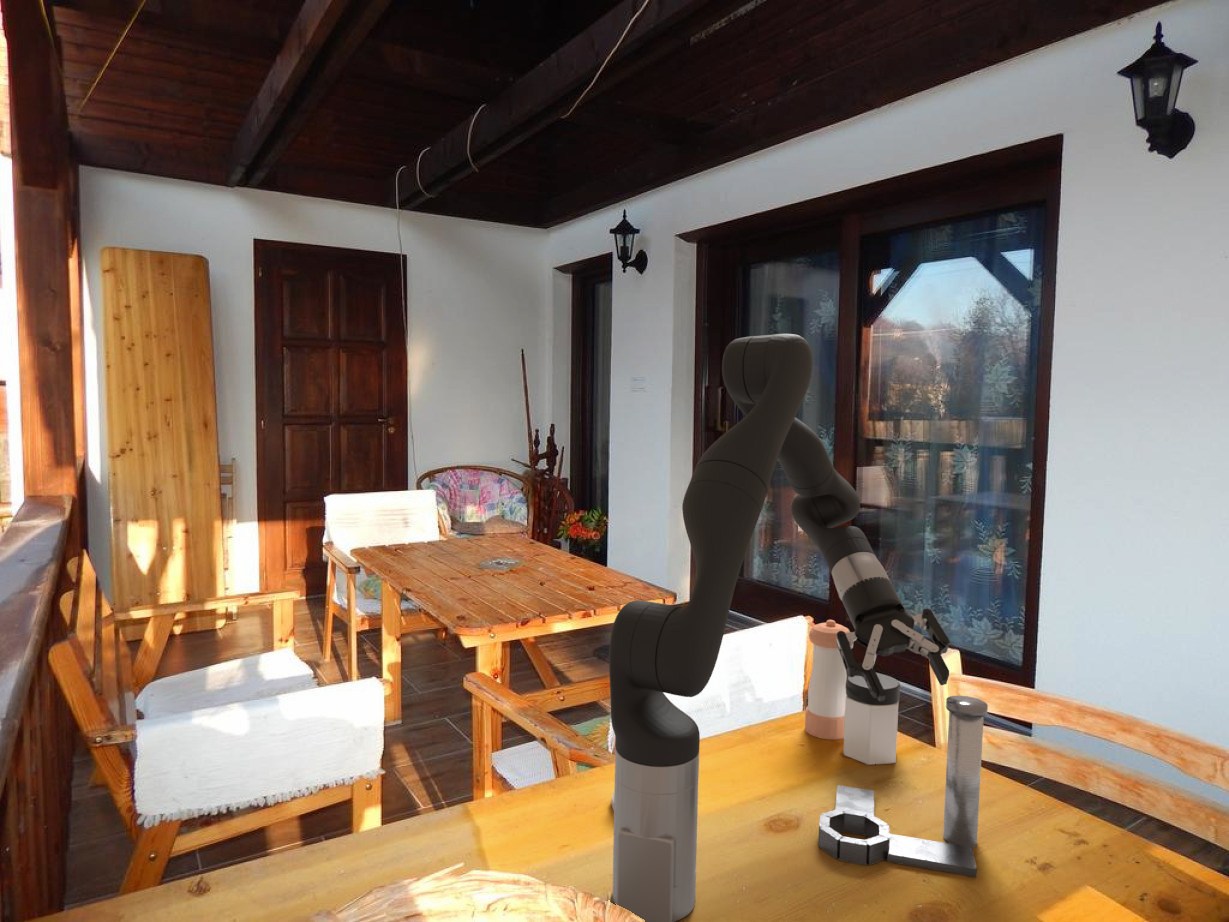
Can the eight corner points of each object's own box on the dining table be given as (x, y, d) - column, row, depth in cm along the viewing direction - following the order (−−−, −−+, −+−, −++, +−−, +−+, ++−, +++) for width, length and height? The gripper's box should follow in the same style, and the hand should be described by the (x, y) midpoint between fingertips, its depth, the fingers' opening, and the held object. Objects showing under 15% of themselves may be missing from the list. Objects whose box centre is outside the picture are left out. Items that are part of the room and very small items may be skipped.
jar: (845, 739, 135) (848, 668, 134) (897, 747, 132) (900, 674, 132) (840, 761, 127) (843, 685, 126) (896, 770, 124) (899, 693, 123)
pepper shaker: (825, 743, 133) (830, 628, 132) (795, 727, 140) (799, 617, 138) (858, 735, 137) (862, 623, 135) (827, 719, 143) (831, 612, 142)
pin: (982, 852, 101) (990, 711, 100) (941, 845, 103) (948, 706, 102) (977, 833, 106) (984, 698, 105) (938, 826, 107) (944, 693, 106)
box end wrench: (978, 885, 94) (979, 864, 94) (817, 856, 100) (817, 837, 100) (961, 810, 112) (962, 793, 112) (824, 789, 117) (825, 773, 117)
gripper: (819, 589, 117) (863, 691, 106) (915, 564, 117) (969, 663, 106) (818, 616, 122) (860, 715, 111) (910, 592, 122) (961, 689, 111)
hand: (913, 690), depth 109 cm, fingers open, 8 cm apart
